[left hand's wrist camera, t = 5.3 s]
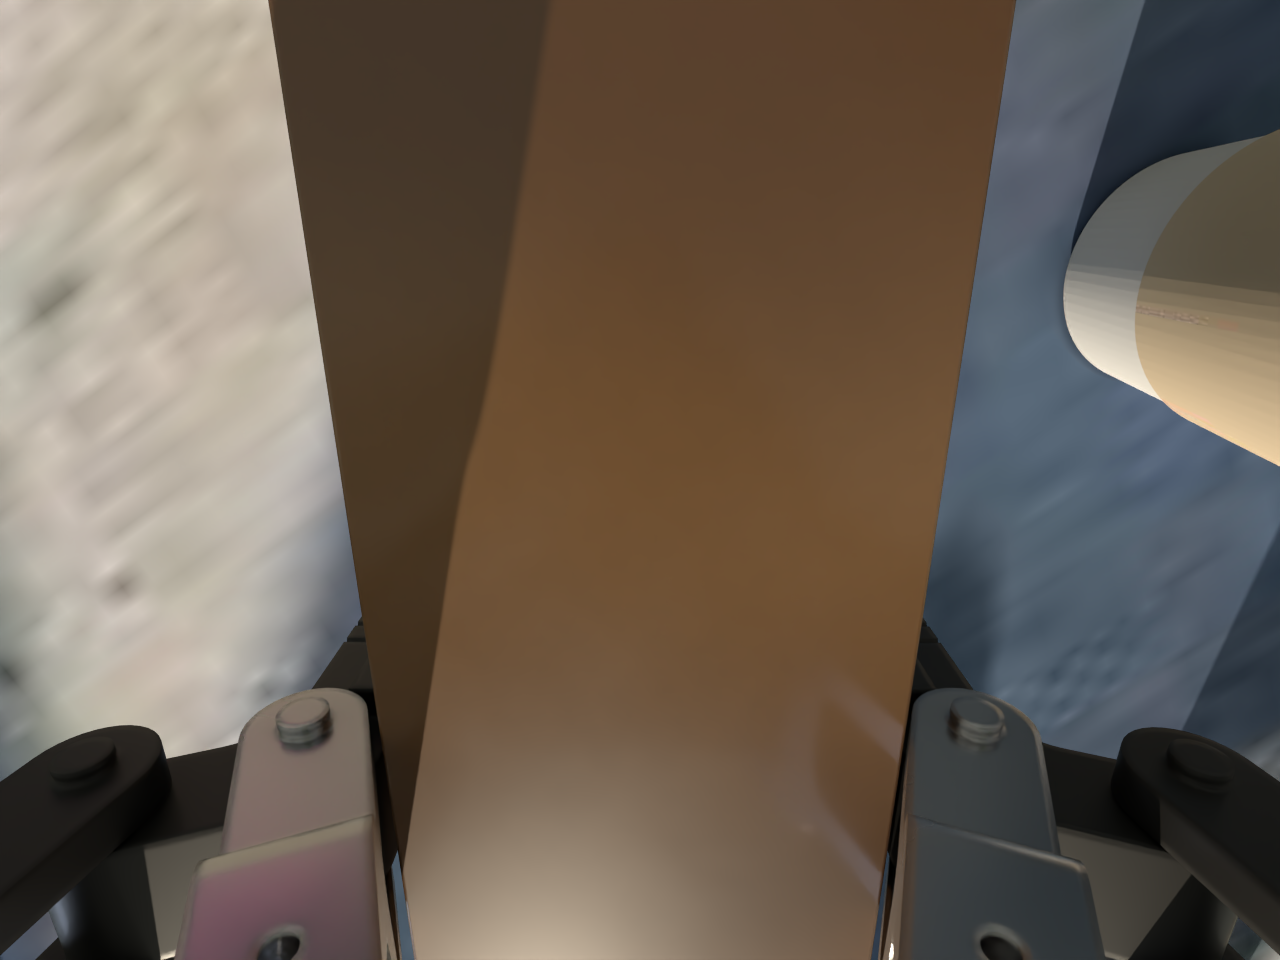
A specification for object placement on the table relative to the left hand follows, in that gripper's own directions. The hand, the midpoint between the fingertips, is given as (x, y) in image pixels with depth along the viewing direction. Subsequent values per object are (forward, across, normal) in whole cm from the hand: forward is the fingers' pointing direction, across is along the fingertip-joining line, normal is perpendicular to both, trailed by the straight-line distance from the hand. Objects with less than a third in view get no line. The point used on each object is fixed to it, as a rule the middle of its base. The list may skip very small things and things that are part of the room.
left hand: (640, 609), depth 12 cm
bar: (+4, 0, -8) cm, 8 cm away
